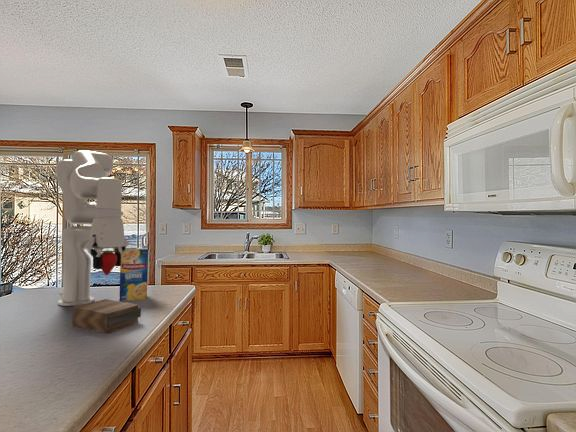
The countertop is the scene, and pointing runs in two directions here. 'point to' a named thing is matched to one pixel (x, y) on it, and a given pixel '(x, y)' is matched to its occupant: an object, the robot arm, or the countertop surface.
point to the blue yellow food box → (133, 274)
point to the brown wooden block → (105, 315)
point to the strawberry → (108, 261)
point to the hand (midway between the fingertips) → (107, 266)
